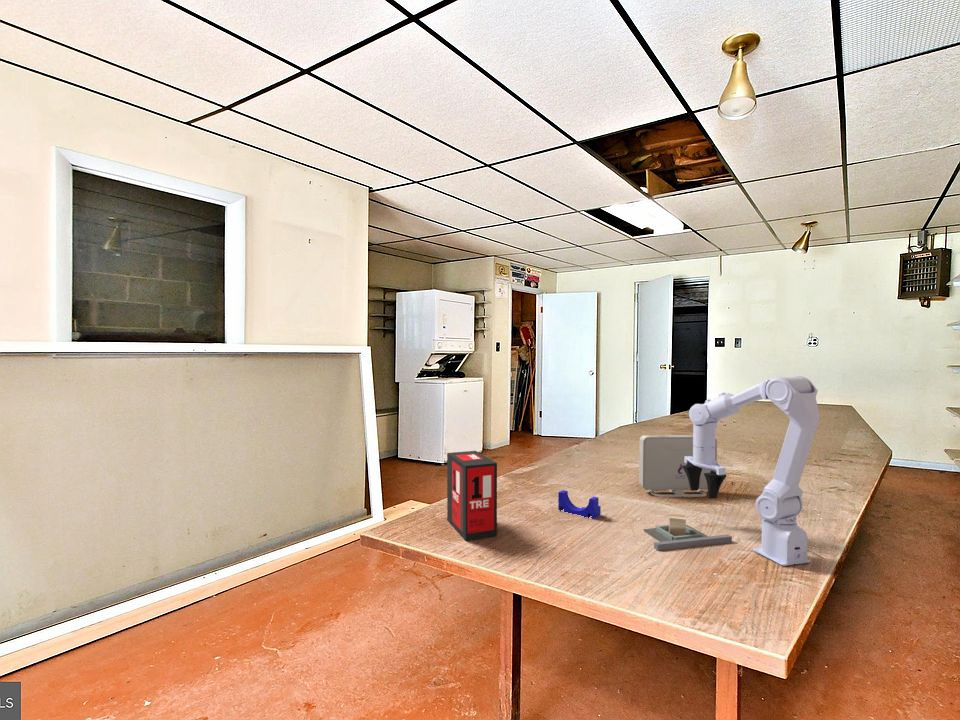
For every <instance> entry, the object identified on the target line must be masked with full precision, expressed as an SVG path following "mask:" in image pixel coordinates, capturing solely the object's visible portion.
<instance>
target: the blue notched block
mask: <svg viewBox="0 0 960 720" xmlns="http://www.w3.org/2000/svg"><path fill="white" fill-rule="evenodd" d="M557 496H558V497H557V499H558V504H557V505H558V510H560V511H559V512H561V510H563V509H564V512H563V513H565V512H568V513H567V514H569V513H572V514H571V515H573V514H577V515H581V516H584V517H583V518H585V517H588V518H587V519H589V517H590V516H592V517H591V518H592V519H591V520H593V519H594V518H596V517H597V518H599V517H601V516H600V515H602V514H601V513H602V511H601V510H602V509H601V505H599V496H592V497H590V498H589V500H588V504H587V505H586V507H585V506H582V507H579V506H576V505H575V504H574V503H573V502H572V501H571V499H570V496H569V492H568V490H564V489H562V490H560V491H558V494H557ZM577 515H576V516H577ZM581 516H580V517H581ZM598 516H599V517H598ZM597 518H596V519H597ZM594 520H595V519H594Z"/></svg>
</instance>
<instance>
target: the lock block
mask: <svg viewBox="0 0 960 720" xmlns="http://www.w3.org/2000/svg"><path fill="white" fill-rule="evenodd" d="M686 521H687V518H686V514H684V513H683V514H682V513H674V512H669V513H668V525H669V533H670V534H671V535H673V536H682V535H686V525H687V522H686Z"/></svg>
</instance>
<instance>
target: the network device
mask: <svg viewBox="0 0 960 720" xmlns="http://www.w3.org/2000/svg"><path fill="white" fill-rule="evenodd" d="M638 447H639V452H638V453H639V460H638V461H639V462H638V464H639V465H638V466H639V467H638V470H639V471H638V475H639V476H638V483H639V486H640V487H641V488H643V489H645V491H647V492H648V493H649V492H650V493H651V494H650V493H649V494H650V495H652V496H653V495H655V496H654V497H657V496H659V497H658V498H679V497H680V498H692V497H694V498H697V497H698V498H699V497H701V498H702V497H707V495H708V492H706V491H704V490H708V486H707V481H706V478H705V475H704V473H711V471H708V470H706V469H702V472H701V475H700V482H699V489H698V490H695V491H697V492H698V493H696V494H695V493H691V494H689V493H685V491H692V490H691V489H690V485H689V481H688V478H687V475H686V473H685V471H684V469H683V465H686V464H687V463H684V459H685V456H692V457H693V434H665V435H664V434H656V435H655V434H654V435H653V434H648V435H647V434H643V435H641V436H640V437H639V445H638ZM717 457H718V440H717V438H716V437H715V461H717V459H718V458H717ZM717 462H718V461H717ZM668 490H669V492H671V493H672V494H669V493H668V494H666V493H665V494H659V493H656V492H655V491H668ZM673 493H674V494H673ZM682 496H683V497H682Z"/></svg>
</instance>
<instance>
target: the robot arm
mask: <svg viewBox="0 0 960 720" xmlns="http://www.w3.org/2000/svg"><path fill="white" fill-rule="evenodd" d="M817 394H818V388H816V386H815V385H814V384H813V382H812V381H811V380H810V379H809V378H808V377H805V376H802V375H801V376H800V375H799V376H798V375H797V376H791V377H782V376H781V377H780V376H778V377H773V378H772V379H767V380H763V381H761V382H759V383H757V384H756V385H753V386H750V387H749V388H747V389H744V390H742V391H741V392H738V393H736V394H735V395H734V394H733V393H730V392H729V393H728V392H727V393H726V392H721V393H718V396H717V397H715V398H713V399H706V400H705V401H704V403H694V404H693V405H692V406H691V407H690V409H689V412H688V417H689V419H690V421H691V422H692V424H693V428H692V429H693V430H692V431H693V432H692V435H693V457H692V456H685V459H684V463H687V464H686V465H683V469H684V471H685V473H686V475H687V478H688V481H689V485H690V489H691V490H690V491H693V492H694V491H696V490H698V489H699V482H700V475H701V472H702V469H706V470H708V471H711V473H704V475H705V478H706V481H707V486H708V489H707V495H708V499H710V500H712V499H713V500H714V499H717V498H718V494H719V491H720V488H721V485H722V484H723V482H724V480H725V479H726V478H727V474H726V467H724V466H722V465H720V464H718V463H719V462H718V461H715V438H716V431H717V427H718V424H719V421H720V420H723V419H725V418H728V417H730V416H733V415H735V414H738V413H739V412H740V409H741V407H743V406H746V405H748V404H752V403H755V402H758V401H760V400H769V401H770V402H772V403H773V405H775V406H777V407H778V408H779V410H781V411H782V412H784V413H785V414H786V416H787V417H788V419H789V423H788V427H787V430H786V432H785V437H784V440H783V443H782V446H781V449H780V453H779V456H778V460H777V463H776V466H775V470H774V472H773V476H772V479H771V480H770V481H769V482H768V483H767V484H766V485H765V486H764V488H763V491H762V493H761V494H760V495H759V496H758V497H756V500H755V508H756V512H757V513H758V515H759V516H760V520H761V543H760V544H761V546H760V547H753V548H752V551H753V552H755V553H758V554H760V555H761V556H763V557H764V558H766V559H769V560H771V561H773V562H775V563H777V564H779V565H780V566H783V567H787V566H793V565H794V564H795V565H802V564H808V563H810V562H811V560H810V559H808V546H809V545H808V542H809V541H808V539H809V538H808V537H809V536H808V533H807V532H806V531H805V529H803V528H801V527H800V526H799V525H798V523H797V520H798V518H797V516H798V515H799V514H800V513H801V512H802V510H803V501H802V499H803V493H804V491H803V490H802V488H800V486H799V485H800V482H801V479H802V477H803V473H804V470H805V467H806V462H807V459H808V457H809V453H810V450H811V447H812V444H813V441H814V438H815V434H816V431H817V428H818V425H819V422H820V412H819V407H818V402H817Z"/></svg>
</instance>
